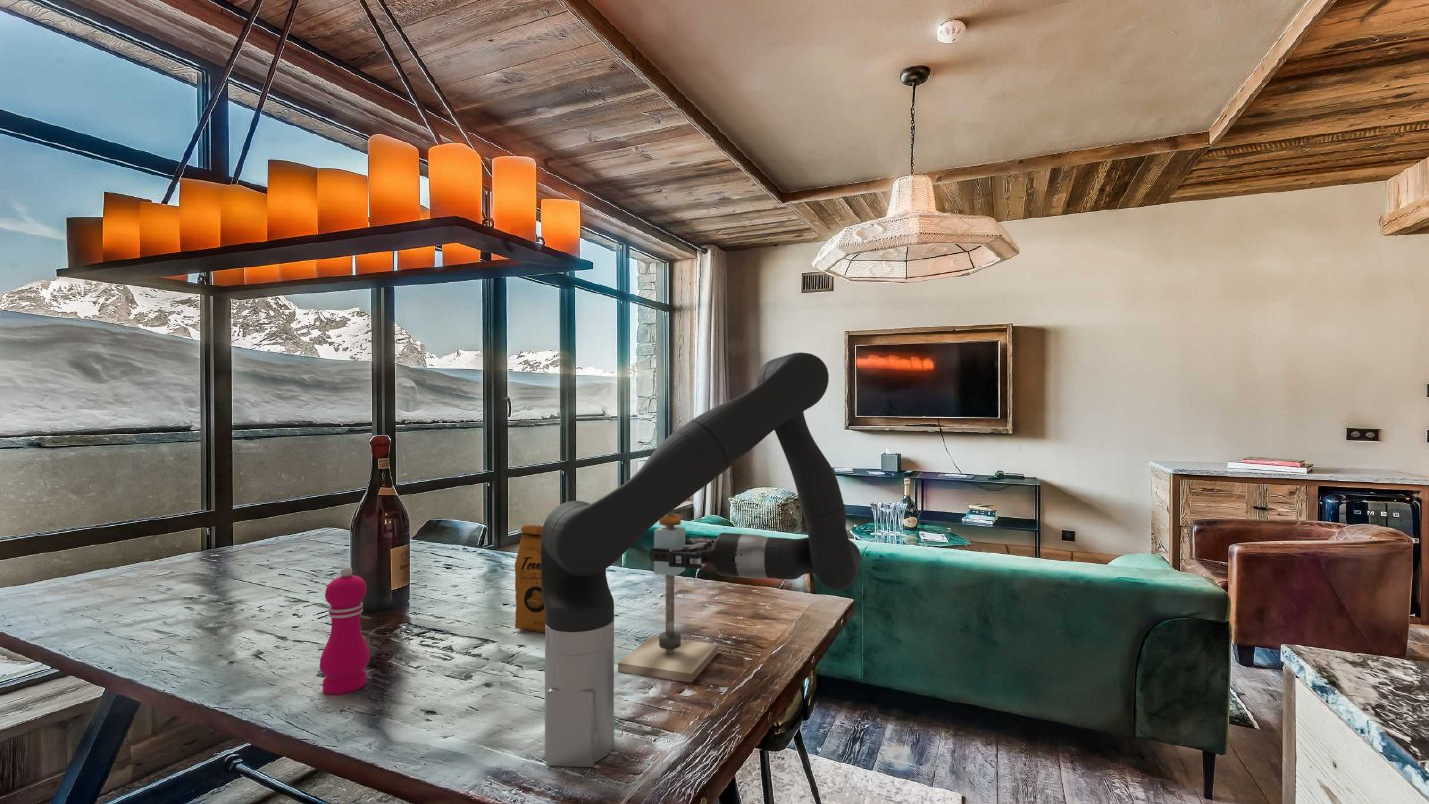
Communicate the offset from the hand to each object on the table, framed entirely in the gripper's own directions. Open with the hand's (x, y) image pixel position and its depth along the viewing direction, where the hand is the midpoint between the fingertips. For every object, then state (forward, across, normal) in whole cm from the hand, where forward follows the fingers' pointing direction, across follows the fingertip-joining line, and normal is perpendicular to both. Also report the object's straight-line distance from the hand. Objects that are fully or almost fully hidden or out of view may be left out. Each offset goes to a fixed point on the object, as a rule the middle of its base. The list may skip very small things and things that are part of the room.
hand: (660, 549), depth 113 cm
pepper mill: (+46, +27, +21) cm, 57 cm away
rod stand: (-2, 0, +20) cm, 21 cm away
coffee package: (+30, -8, +21) cm, 38 cm away
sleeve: (-2, 0, +4) cm, 4 cm away
